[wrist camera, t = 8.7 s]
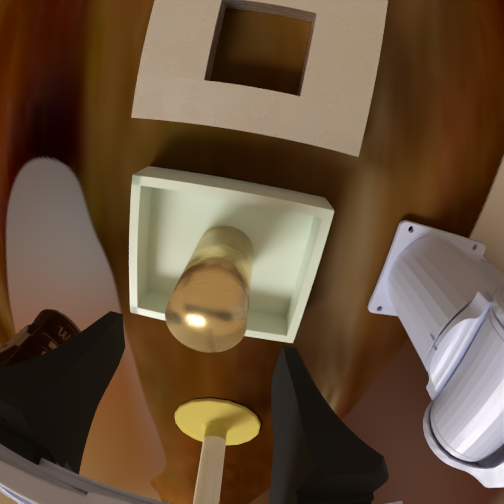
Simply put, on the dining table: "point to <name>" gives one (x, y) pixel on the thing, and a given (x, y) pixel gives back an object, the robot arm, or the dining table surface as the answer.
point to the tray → (235, 215)
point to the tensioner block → (256, 99)
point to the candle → (215, 438)
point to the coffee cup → (38, 338)
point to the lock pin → (213, 292)
